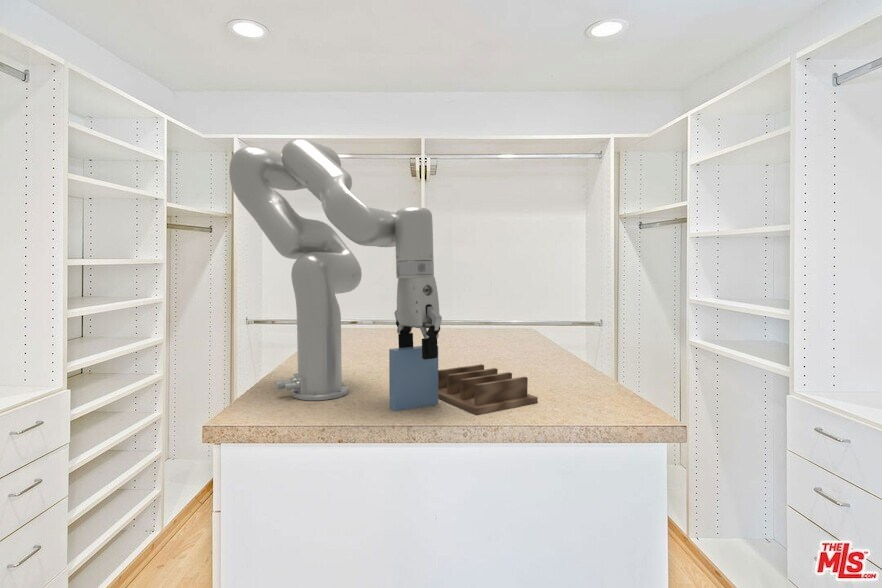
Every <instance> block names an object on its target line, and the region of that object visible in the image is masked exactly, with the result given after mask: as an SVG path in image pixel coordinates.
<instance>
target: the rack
mask: <svg viewBox="0 0 882 588" xmlns="http://www.w3.org/2000/svg"><path fill="white" fill-rule="evenodd" d="M528 379H529V378H528V377H527V376H521V377H520V376H519V377H513V373H512V372H509V371H508V372H502V373H498V368H497V367H494V368H486V369H485V364H483V363H482V364H481V363H480V364H475V365H467V366H459V367H452V368H444V369H438V400H441V401H443V402H445V403H448V404H449V405H452V406H454V407H456V408H459V409H461V410H463V411H465V412H467V413H470V414H472V415H475V416H478V415H482V414H488V413H492V412H498V411H503V410H507V409H512V408H518V407H522V406H523V407H524V406H528V405H533V404H538V402H539V401H538V399H539V397H538V396H536V395H532V394H529V393H528V381H529V380H528Z"/></svg>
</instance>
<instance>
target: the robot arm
mask: <svg viewBox="0 0 882 588" xmlns="http://www.w3.org/2000/svg"><path fill="white" fill-rule="evenodd" d="M228 170H229V171H228V173H229V181H230V185H231V188H232V190H233V193H234V194H235V196H236V198H237V200H238V201H239V203H240V204H241V206H243V208H244V209H245V210H246V211H247V212H248V214H250V216H251V217H252V218H253V219H254V221H255V222H256V224H257V225H258V226H259V228H260V229H261V231H262V232H263V233H264V234H265V236H266V238H267V239H268V240H269V242H270V243H271V245H272V246H273V247H274V249H275V250H276V251H277V253H279V255H281V256H282V257H284V258H285V259H290V260H291V259H292V260H295V261H294V262H293V265H292V268H291V275H290V276H291V283H292V288H293V293H294V298H295V305H296V306H295V307H296V332H297V333H296V343H297V346H296V347H297V349H296V350H297V373H293V377H292V376H291V377H290V378H289V379H280V380H275V382H274V384H275V386H274V387H275V390H282V389H284V391H287V390H290V396H291V397H292V398H293V399H297V400H299V401H300V400H301V401H328V400H334V399H339V398H341V397H344V396H346V395H347V394H349V390H350V388H349V386H348V385H347V384H345V383H342V373H343V371H342V370H343V369H342V315H341V314H342V313H341V309H340V304H339V301H338V299H337V296H336V294H346V293H349V292H352V291H354V290H355V289H356V288H357V287H359V285H360V283H361V281H362V268H361V265H360V262H359V261H358V259H357V257H356V256H355V254H354V253H353V252H352V251H351V250H350V249H349V247H348V246H347V245H346V243H345V242H344V240H343V239H342V238H341V237H340V235H339V234H338V233H337V232H336V230H334V228H332V227H331V226H330V225H329V224H328V223H325V222H324V221H321V220H317V219H311V218H305V217H303V216H301V215H299V213H298V212H296V211H295V209H294V208H293V207H292V205H291V204H290V203H289V201H288V200H287V199H286V198H285V196H283V195H282V194H281V193H280V192H278V191H277V190H281V191H298V190H299V191H300V190H304V189H307V190H308V191H309V192H311V194H312V195H313V196H314V197H315V198H316V199H317V200H318V201H320V202H321V207H322V210H323V212H324V215H325V216H326V218H327V220H328V221H329V222H330V223H331V224H332V225H333V226H334V227H335V228H336V229H337V230H338V231H339V232H340V233H341V234H343V235H344V236H345V237H346V238H347V239H348V240H350V241H351V242H353V243H355V244H357V245H360V246H364V247H377V248H393V247H395V269H396V275H395V276H396V279H397V285H396V286H397V287H396V310H395V311H394V317H395V320H396V321H395V325H396V327H397V329H396V333H397V335H398V337H397V338H398V341H397V342H398V348H405V347H414V333H413V332H412V329H413V328H415V329H420V332H421V334H422V336H423V338H421V346H422V358H423V359H424V360H426V359H434V358H437V357H438V358H439V346H438V338H439V333H440V331H441V324H442V321H443V320H442V319H443V318H442V315H441V314H440V304H439V303H440V302H439V293H438V287H437V285H438V284H437V282H436V281H437V280H436V277H435V268H434V267H435V263H434V262H435V260H434V234H433V233H434V232H433V230H434V229H433V228H434V227H433V213H432V212H431V210H430V209H428V208H425V207H418V206H417V207H416V206H414V207H413V206H409V207H403V208H402V207H401V208H400V209H397V210H396V211H395V212H394V211H389V210H384V209H379V208H374V207H369V206H367V205H366V204H365V203H364V202H362V201H361V200H360V199H359V198H358V197H356V196H355V195H354V194H353V193H352V192H351V189H352V187H353V180H352V179H353V178H352V176H351V174H350V173H349V172H348V171H347V170H345V169H344V168H343V167H342V162H341V158H340V157H339V155H338V154H337V152H336V151H335V150H334V149H332V148H331V147H329V146H327V145H323V144H320V143H317V142H315V141H312V140H308V139H305V138H295V139H292V140H289V141H288V142H287V143H286V144H284V146H283V148H282V150H281V152H279V151H275V150H271V149H268V148H264V147H259V146H244V147H241V148H239V149H237V150H236V151H235V152H234V153H233V155H232V157H231V159H230V162H229V169H228ZM437 346H438V347H437Z"/></svg>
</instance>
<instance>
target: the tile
mask: <svg viewBox="0 0 882 588" xmlns="http://www.w3.org/2000/svg"><path fill="white" fill-rule="evenodd" d="M437 347H438V348H439V346H438V345H437ZM388 354H389V355H388V357H389V358H388V359H389V361H388V363H389V364H388V367H389V369H388V370H389V383H388V385H389V391H388V392H389V393H388V394H389V410H392V412H399V411H400V412H401V411H405V410H410V409H418V408H423V407H428V406H434V405H439V399H438V370H439V356H438V357H437V358H434V359H426V360H424V359H423V358H422V345H417V346H413V347H405V348H399V347H397V348H396V347H395V348H389V352H388Z"/></svg>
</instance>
